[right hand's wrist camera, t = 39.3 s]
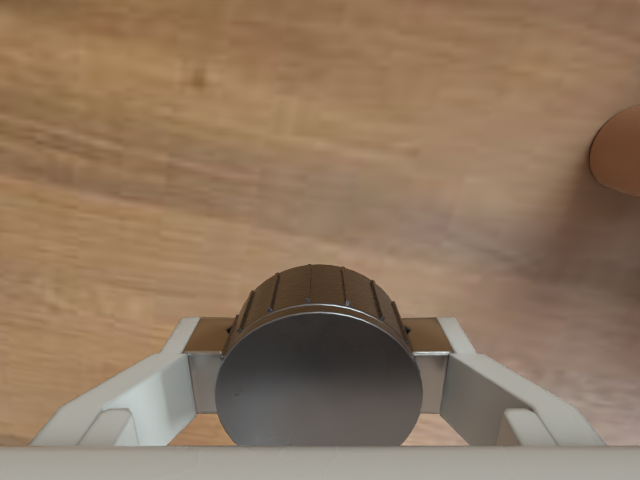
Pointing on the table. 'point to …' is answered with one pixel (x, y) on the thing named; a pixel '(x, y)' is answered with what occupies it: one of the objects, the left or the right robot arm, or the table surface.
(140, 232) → the table surface
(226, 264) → the table surface
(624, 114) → the bottle
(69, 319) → the table surface
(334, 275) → the cap
